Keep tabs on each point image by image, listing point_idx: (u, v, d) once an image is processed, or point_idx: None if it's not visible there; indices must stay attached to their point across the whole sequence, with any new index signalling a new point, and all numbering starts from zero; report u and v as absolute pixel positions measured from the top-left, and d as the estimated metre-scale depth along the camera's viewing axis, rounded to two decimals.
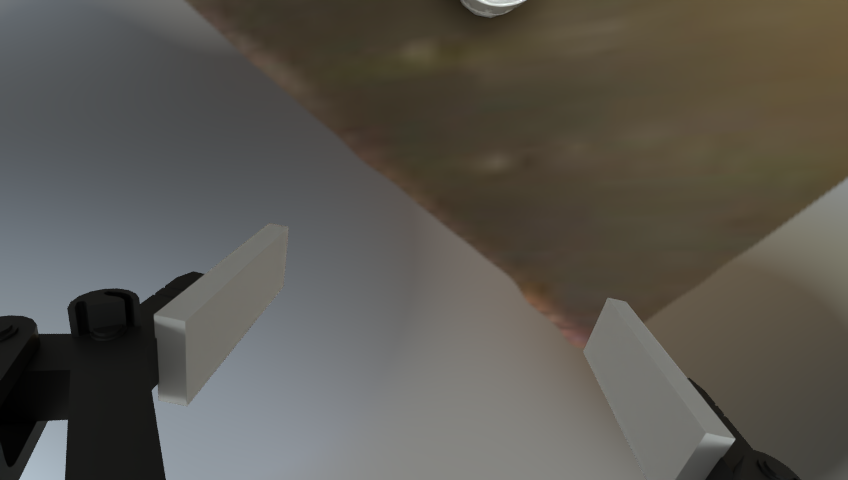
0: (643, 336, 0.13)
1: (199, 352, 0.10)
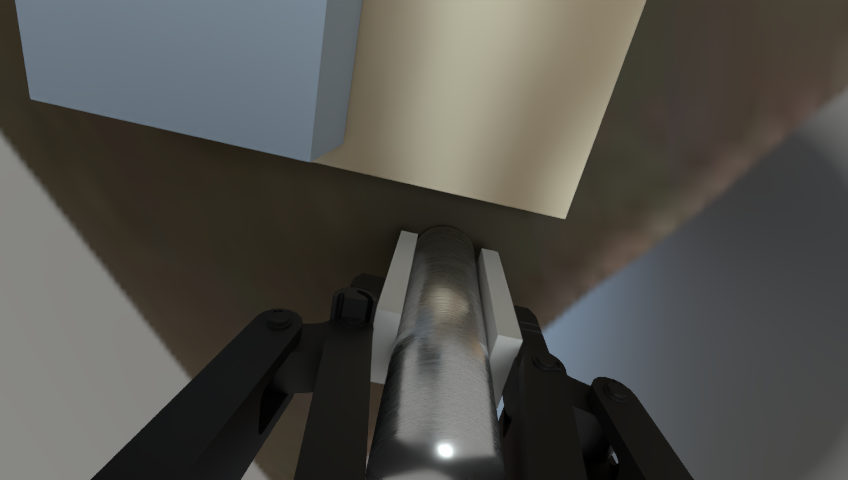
0: (494, 274, 0.15)
1: None
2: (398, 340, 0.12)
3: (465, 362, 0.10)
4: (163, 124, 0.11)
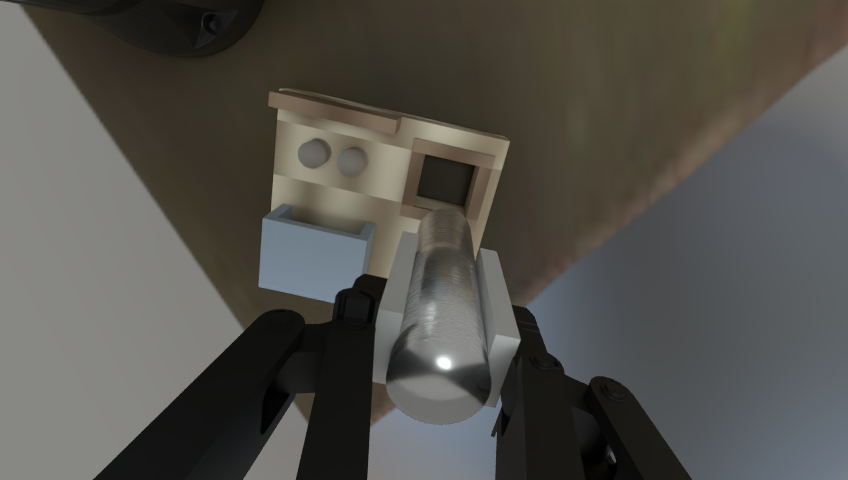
0: (492, 274, 0.15)
1: None
2: (408, 291, 0.14)
3: (461, 301, 0.13)
4: (304, 295, 0.32)
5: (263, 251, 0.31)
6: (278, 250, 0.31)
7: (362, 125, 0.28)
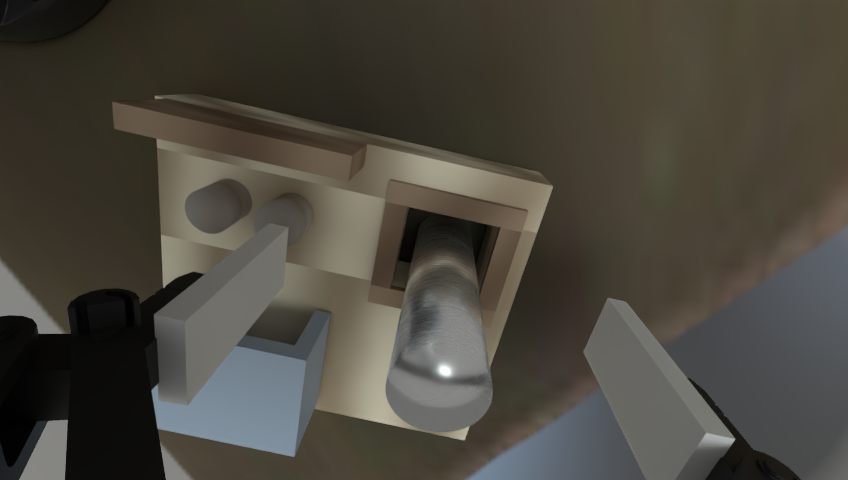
0: (643, 336, 0.13)
1: (199, 352, 0.10)
2: (408, 295, 0.14)
3: (462, 308, 0.13)
4: (209, 436, 0.19)
5: None
6: None
7: (289, 164, 0.15)
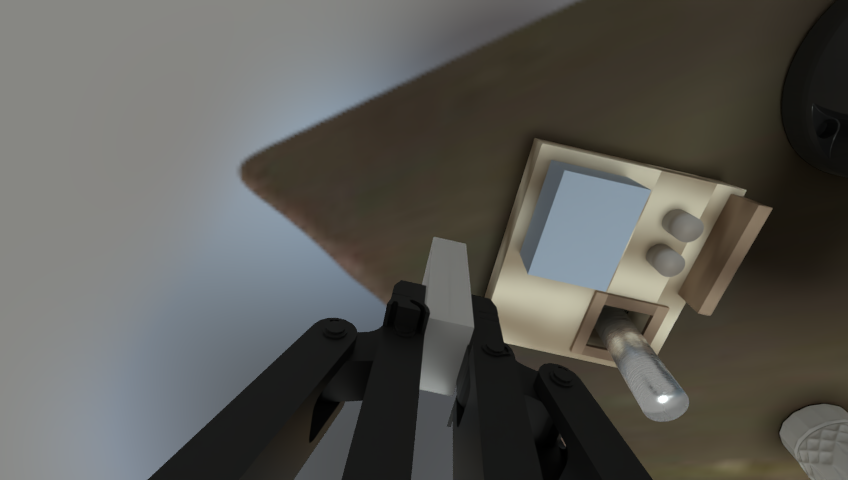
0: (457, 265, 0.15)
1: None
2: (656, 355, 0.30)
3: None
4: (547, 222, 0.28)
5: (610, 184, 0.27)
6: (609, 201, 0.27)
7: (714, 288, 0.30)
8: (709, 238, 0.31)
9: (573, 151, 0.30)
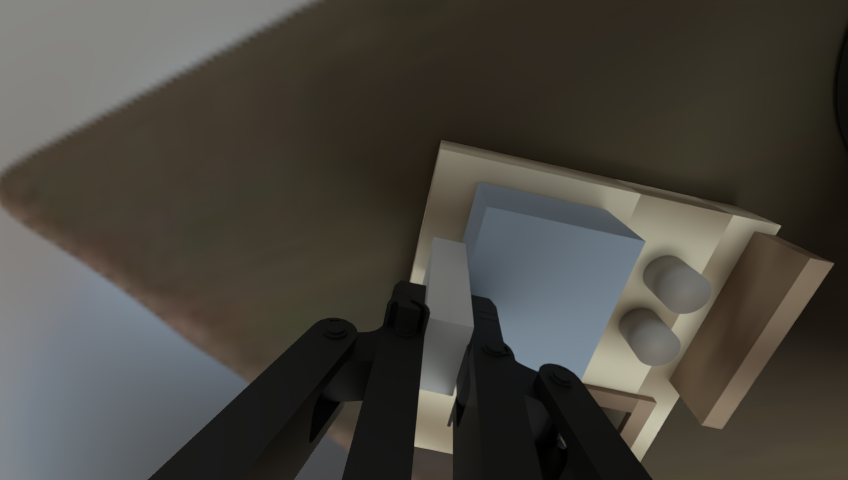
0: (457, 265, 0.15)
1: None
2: None
3: None
4: None
5: (571, 230, 0.15)
6: (570, 260, 0.15)
7: (728, 388, 0.18)
8: (719, 301, 0.19)
9: (493, 162, 0.18)
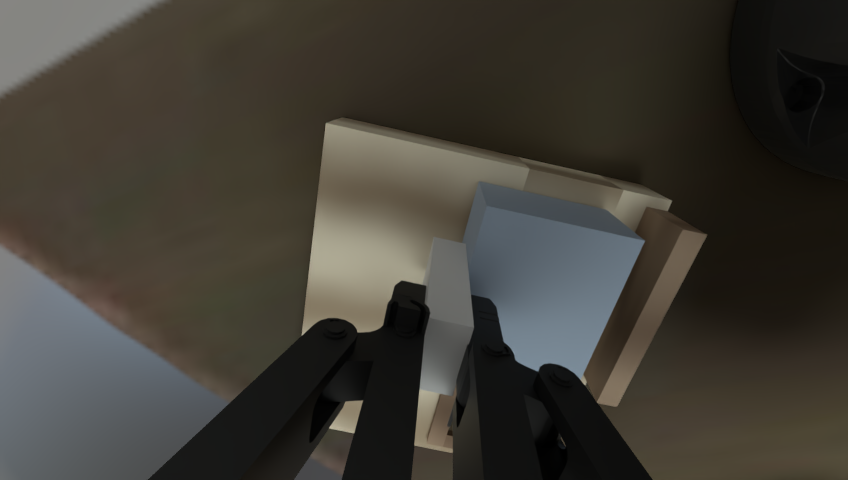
0: (457, 265, 0.15)
1: None
2: None
3: None
4: None
5: (571, 230, 0.15)
6: (569, 260, 0.15)
7: (618, 365, 0.18)
8: None
9: (379, 136, 0.18)
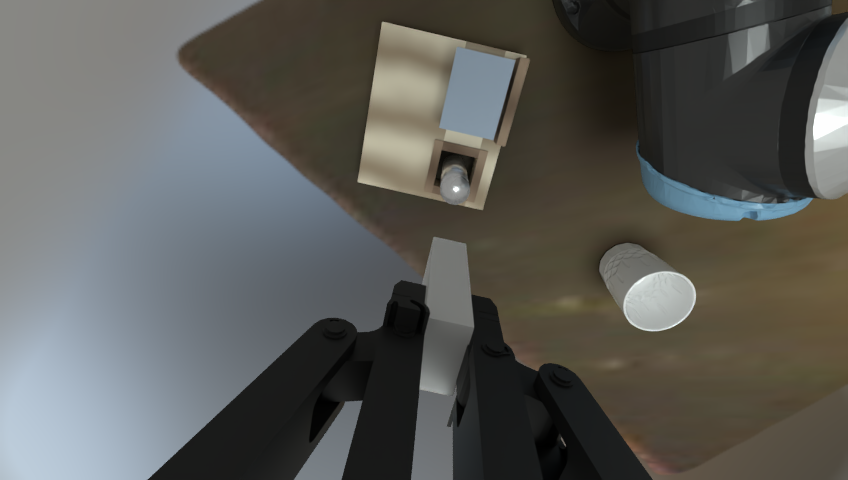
0: (457, 265, 0.15)
1: None
2: (463, 170, 0.43)
3: None
4: (449, 86, 0.41)
5: (488, 56, 0.40)
6: (488, 69, 0.40)
7: (503, 123, 0.43)
8: (506, 93, 0.44)
9: (404, 27, 0.43)
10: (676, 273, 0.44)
